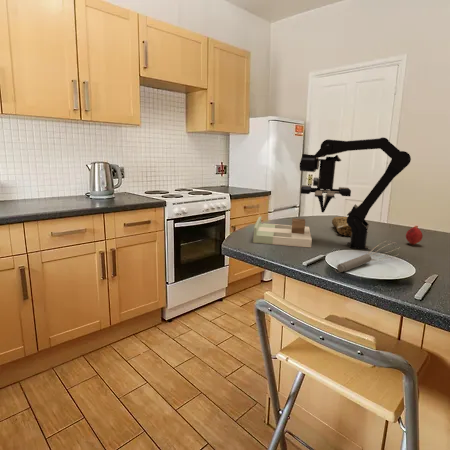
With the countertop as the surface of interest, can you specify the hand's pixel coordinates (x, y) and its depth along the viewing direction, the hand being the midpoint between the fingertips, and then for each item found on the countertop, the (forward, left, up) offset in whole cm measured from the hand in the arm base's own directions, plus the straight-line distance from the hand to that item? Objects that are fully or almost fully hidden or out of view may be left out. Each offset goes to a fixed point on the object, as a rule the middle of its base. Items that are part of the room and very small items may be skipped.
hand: (322, 212), depth 133 cm
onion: (+6, -37, -12) cm, 39 cm away
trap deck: (0, +15, -12) cm, 19 cm away
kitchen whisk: (-24, -14, -12) cm, 30 cm away
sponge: (+20, -13, -12) cm, 27 cm away
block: (0, +9, -9) cm, 13 cm away
